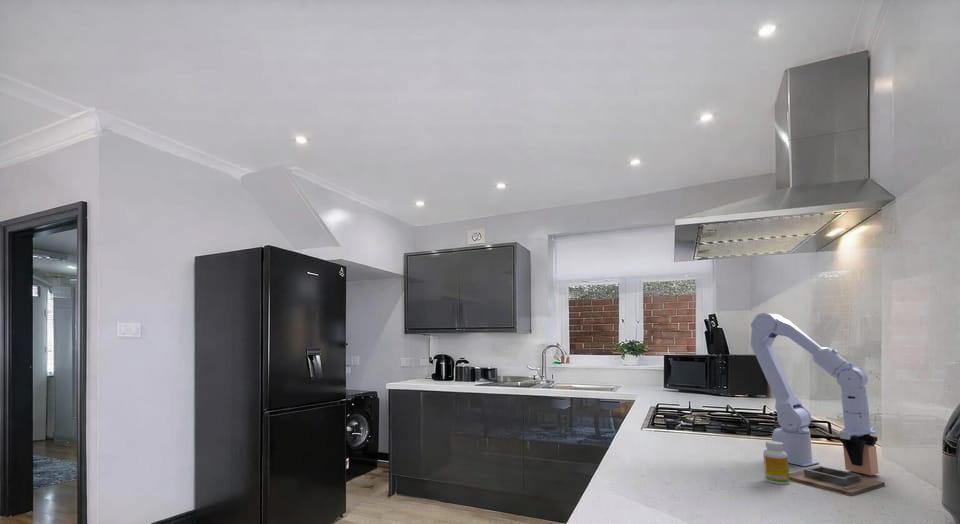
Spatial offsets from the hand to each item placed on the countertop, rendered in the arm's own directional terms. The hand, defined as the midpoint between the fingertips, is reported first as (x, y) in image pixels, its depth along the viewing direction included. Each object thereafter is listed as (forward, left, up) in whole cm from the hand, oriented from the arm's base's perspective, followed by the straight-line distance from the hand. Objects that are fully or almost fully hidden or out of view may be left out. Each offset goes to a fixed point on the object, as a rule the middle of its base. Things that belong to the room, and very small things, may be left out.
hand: (861, 464), depth 133 cm
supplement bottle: (-7, -27, -3) cm, 28 cm away
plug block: (0, 0, -2) cm, 2 cm away
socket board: (0, -15, -2) cm, 15 cm away
